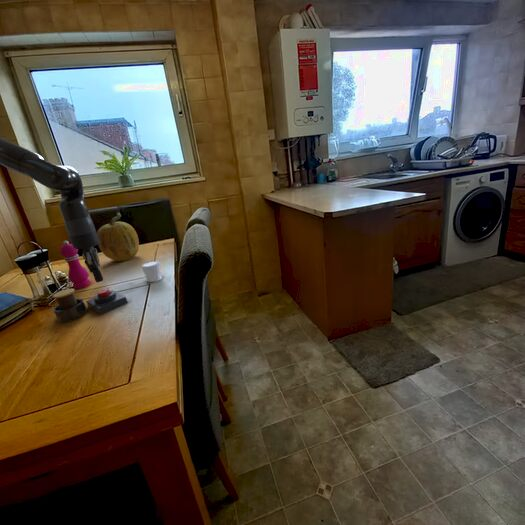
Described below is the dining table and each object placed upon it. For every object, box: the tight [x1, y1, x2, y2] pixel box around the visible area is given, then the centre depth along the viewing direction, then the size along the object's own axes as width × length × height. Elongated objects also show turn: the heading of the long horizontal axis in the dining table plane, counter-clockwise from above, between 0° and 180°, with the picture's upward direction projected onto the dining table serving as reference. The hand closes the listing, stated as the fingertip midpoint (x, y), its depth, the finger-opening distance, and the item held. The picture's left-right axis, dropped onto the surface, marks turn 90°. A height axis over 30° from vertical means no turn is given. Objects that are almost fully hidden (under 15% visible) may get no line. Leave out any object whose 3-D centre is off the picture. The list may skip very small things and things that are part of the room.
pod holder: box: [52, 298, 88, 323], centre depth 92 cm, size 8×8×4 cm
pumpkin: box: [96, 212, 140, 262], centre depth 145 cm, size 19×19×25 cm
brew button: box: [97, 288, 110, 298], centre depth 96 cm, size 4×4×2 cm
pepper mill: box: [59, 240, 92, 290], centre depth 115 cm, size 7×7×20 cm
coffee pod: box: [52, 288, 78, 310], centre depth 91 cm, size 6×6×8 cm
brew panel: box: [86, 289, 129, 315], centre depth 97 cm, size 9×11×4 cm
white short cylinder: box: [141, 260, 162, 283], centre depth 114 cm, size 7×7×7 cm
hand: (99, 281), depth 94 cm, fingers closed
